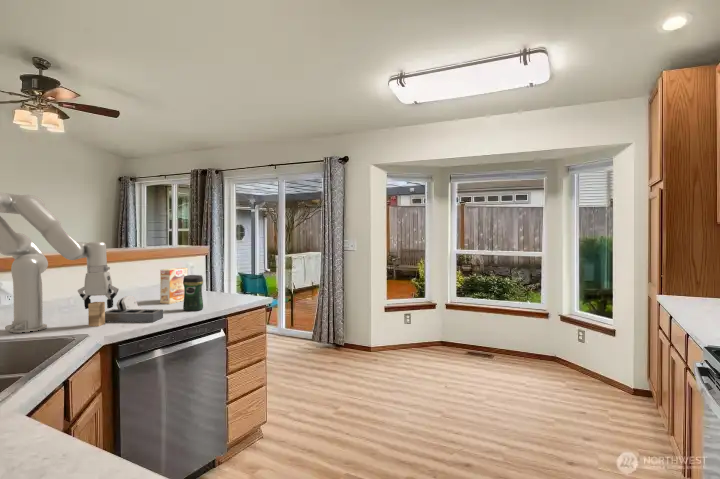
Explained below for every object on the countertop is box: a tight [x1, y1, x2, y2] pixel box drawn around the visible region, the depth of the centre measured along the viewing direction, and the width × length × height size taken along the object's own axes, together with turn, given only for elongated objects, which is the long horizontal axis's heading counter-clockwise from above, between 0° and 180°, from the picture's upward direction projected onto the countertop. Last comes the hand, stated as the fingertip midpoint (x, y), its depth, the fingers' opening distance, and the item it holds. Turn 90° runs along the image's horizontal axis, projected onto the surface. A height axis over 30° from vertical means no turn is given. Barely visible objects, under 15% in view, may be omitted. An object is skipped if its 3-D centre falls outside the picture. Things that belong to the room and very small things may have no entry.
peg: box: [87, 301, 106, 327], centre depth 186 cm, size 4×4×10 cm
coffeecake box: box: [159, 267, 189, 305], centre depth 246 cm, size 15×7×20 cm, turn 162°
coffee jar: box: [182, 274, 204, 312], centre depth 222 cm, size 10×8×19 cm
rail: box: [105, 308, 164, 323], centre depth 197 cm, size 10×24×4 cm, turn 91°
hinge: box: [116, 295, 143, 309], centre depth 211 cm, size 17×5×10 cm, turn 11°
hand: (99, 308), depth 186 cm, fingers open, 9 cm apart
